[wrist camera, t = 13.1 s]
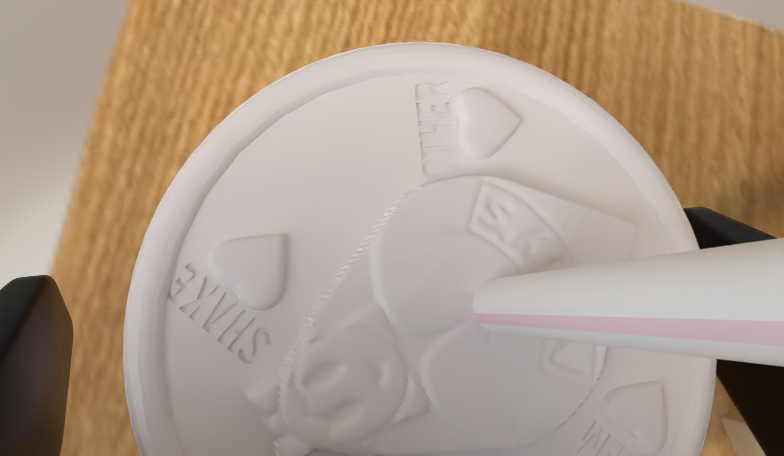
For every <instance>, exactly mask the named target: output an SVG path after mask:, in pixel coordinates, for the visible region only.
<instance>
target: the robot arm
mask: <svg viewBox="0 0 784 456" xmlns="http://www.w3.org/2000/svg"><path fill="white" fill-rule="evenodd" d="M683 210H684V212H685V214H686V216H687V218H688V220H689V223H690V225H691V227H692V230H693V232H694V235H695V238H696V240H697V243H698V246H699V248H700V249H707V248H714V247H721V246H728V245H735V244H742V243H749V242H756V241H764V240H771V239H778V238H776V237H774V236H771V235H769V234H766V233H764V232H762V231H759V230H757V229H755V228H752V227H750V226H748V225H745V224H743V223H741V222H738V221H736V220H734V219H731V218H729V217H727V216H724V215H722V214H719V213H717V212H715V211H712V210H710V209H708V208H705V207H692V208H683ZM72 345H73V324H72V320H71V317H70V315H69V312H68V310H67V308H66V305H65V303H64V300H63V298H62V296H61V293H60V291H59V289H58V286H57V284H56V282H55V281H54V279H53V278H52V277H50V276H48V275H39V276H29V277H20V278H16V279H14V280H12V281H11V282H9V283H8V284H7V285H5V286H4V287H3V288H2V289H1V290H0V456H60V452H61V447H62V441H63V433H64V425H65V415H66V405H67V395H68V385H69V375H70V365H71V355H72ZM716 375H717V377H718V379H719V380H720V382H721V383H722V385H723V387H724V388H725V390H726V392H727V393H728V395H729V397H730V398H731V400H732V401H733V403H734V405H735V406H736V408H737V410H738V411H739V413H740V415H741V416H742V418H743V419H744V421H745V423H746V424H747V426H748V428H749V429H750V431H751V433H752V434H753V436H754V438H755V439H756V441H757V442H758V444H759V446H760V447H761V449H762V451H763V452H764V454H765V456H784V367H782V366H774V365H765V364H757V363H748V362H740V361H731V360H723V359H717V365H716Z"/></svg>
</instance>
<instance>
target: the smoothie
mask: <svg viewBox="0 0 784 456" xmlns="http://www.w3.org/2000/svg"><path fill="white" fill-rule="evenodd" d="M717 359H723V360H731V361H740V362H748V363H757V364H765V365H774V366H782V367H784V238H778V239H771V240H764V241H756V242H749V243H742V244H735V245H728V246H721V247H714V248H707V249H700V248H699V246H698V243H697V240H696V238H695V235H694V232H693V230H692V227H691V225H690V223H689V220H688V218H687V216H686V214H685V212H684V210H683V208H682V206H681V204H680V202H679V200H678V198H677V197H676V195H675V193H674V191H673V190H672V188H671V186H670V185H669V183H668V181H667V180H666V178H665V177H664V175H663V174H662V172H661V171H660V170H659V168H658V167H657V165H656V164H655V163H654V161H653V160H652V158H651V157H650V156H649V154H648V153H647V152H646V151H645V150H644V149H643V147H642V146H641V145H640V144H639V143H638V142H637V140H636V139H635V138H634V137H633V136H632V135H631V134H630V133H629V132H628V131H627V130H626V129H625V128H624V127H623V126H622V125H621V124H620V123H619V122H618V121H617V120H616V119H615V118H614V117H613V116H612V115H610V114H609V113H608V112H607V111H606V110H604V109H603V108H602V107H601V106H600V105H598V104H597V103H596V102H595V101H593V100H592V99H591V98H589V97H588V96H586V95H585V94H583V93H582V92H580V91H579V90H577V89H576V88H574V87H573V86H572V85H570V84H568V83H566V82H565V81H563V80H561V79H559V78H557V77H556V76H554V75H552V74H550V73H548V72H546V71H544V70H542V69H540V68H537V67H535V66H533V65H531V64H528V63H526V62H524V61H521V60H518V59H515V58H512V57H509V56H506V55H503V54H500V53H497V52H493V51H488V50H484V49H480V48H476V47H471V46H463V45H456V44H449V43H434V42H406V43H390V44H383V45H376V46H370V47H363V48H359V49H355V50H352V51H348V52H344V53H340V54H336V55H333V56H330V57H328V58H325V59H322V60H319V61H317V62H314V63H311V64H309V65H307V66H304V67H302V68H300V69H298V70H296V71H294V72H292V73H290V74H288V75H286V76H284V77H282V78H280V79H279V80H277V81H275V82H274V83H272V84H270V85H269V86H267V87H265V88H264V89H262V90H260V91H259V92H257V93H256V94H255V95H253V96H252V97H251V98H249V99H248V100H247V101H245V102H244V103H243V104H241V105H240V106H239V107H237V108H236V109H235V110H234V111H233V112H232V113H230V114H229V115H228V116H227V117H226V118H225V119H224V120H223V121H222V122H221V123H220V124H219V125H217V126H216V127H215V128H214V129H213V130H212V131H211V132H210V133H209V135H208V136H207V137H206V138H205V139H204V140H203V141H202V142H201V144H200V145H199V146H198V147H197V148H196V149H195V150H194V152H193V153H192V154H191V155H190V157H189V158H188V160H187V161H186V162H185V164H184V165H183V166H182V168H181V169H180V171H179V172H178V173H177V175H176V176H175V178H174V179H173V181H172V183H171V184H170V186H169V188H168V189H167V191H166V193H165V195H164V196H163V198H162V200H161V201H160V203H159V205H158V207H157V209H156V211H155V214H154V216H153V218H152V220H151V223H150V225H149V227H148V229H147V231H146V234H145V236H144V239H143V242H142V245H141V248H140V251H139V254H138V257H137V260H136V263H135V266H134V271H133V275H132V280H131V284H130V289H129V293H128V298H127V306H126V314H125V322H124V332H123V370H124V382H125V394H126V401H127V406H128V411H129V417H130V422H131V427H132V432H133V435H134V438H135V442H136V445H137V448H138V451H139V455H140V456H700V454H701V451H702V448H703V445H704V442H705V437H706V433H707V429H708V425H709V421H710V417H711V411H712V404H713V398H714V391H715V381H716V365H717Z"/></svg>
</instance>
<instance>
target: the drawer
mask: <svg viewBox="0 0 784 456" xmlns="http://www.w3.org/2000/svg"><path fill="white" fill-rule="evenodd" d="M721 421H722V423H723V426H724V428H725V430H726V433H727V435H728V438H729V440H730V443H731V445H732V447H733V450H734V452H735V455H736V456H765V454H764V452H763V451H762V449H761V447H760V446H759V444H758V442H757V441H756V439H755V438H754V436H753V434H752V433H751V431H750V429H749V428H748V426H747V424H746V423H745V421H744V419H743V418H742V416H741V415H740V413H739V411H738V410H737V409H735V410H733V411H731V412H729V413H727V414H725V415H723V416H721Z"/></svg>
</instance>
